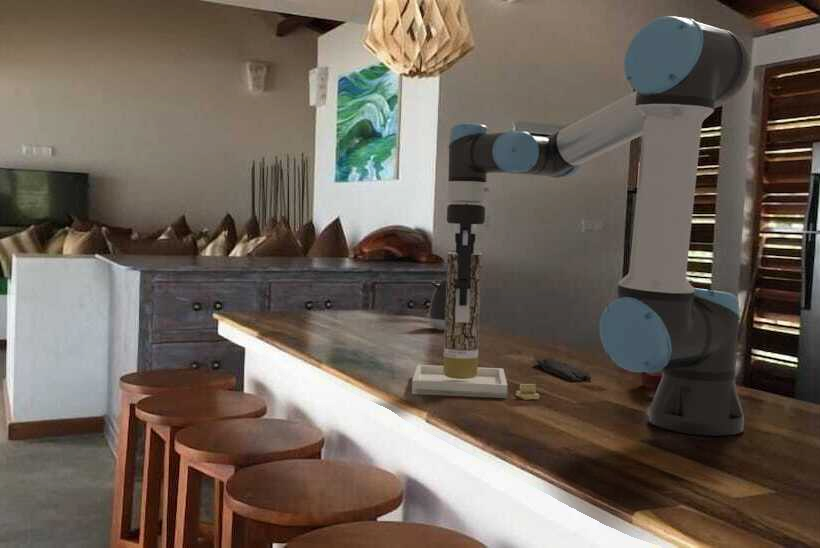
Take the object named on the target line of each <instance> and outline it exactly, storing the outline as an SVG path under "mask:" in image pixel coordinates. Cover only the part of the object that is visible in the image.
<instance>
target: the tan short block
mask: <svg viewBox="0 0 820 548" xmlns="http://www.w3.org/2000/svg"><path fill="white" fill-rule="evenodd" d="M536 390H537V384H536V383H520V384H519V390H515V396H516V397H518V398H520V399H522V400H528V401H529V400H531V399H532V400H533V399H534V400H540V394H539V393H537V391H536ZM532 400H531V401H532Z"/></svg>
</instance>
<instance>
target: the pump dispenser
mask: <svg viewBox="0 0 820 548" xmlns="http://www.w3.org/2000/svg"><path fill="white" fill-rule="evenodd" d="M430 286H432V287H434V288H435V289H434V292H433V293H432V296H431V300H430V305H429V310H428V318H429V322H430V324H431V326H432V327H433V328H434V329H435V330H437V331H443V332H445V307H446V278H445V279H443V280H440V281H439V282H438V283H436V282H434V281H431V282H430Z"/></svg>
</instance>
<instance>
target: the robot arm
mask: <svg viewBox="0 0 820 548" xmlns="http://www.w3.org/2000/svg"><path fill="white" fill-rule="evenodd" d="M750 58H751V57H750V54H749V51H748V48H747V46H746V45H745V43H744V42H743V41H742V39H741V38H739V36H737V35H736V34H735V33H734V32H731V31H730V30H726V29H723V28H720V27H715V26H712V25H708V24H705V23H702V22H700V21H695V20H694V19H692V18H689V17H679V16H672V15H671V16H670V15H667V16H661V17H657V18H654V19H652V20H650V21H649V22H647V23H646V24H645V25H643V26H642V27H641V29H640V30H639V31H638V32H636V33H635V35H634V36H633V37H632V39H631V40H630V42H629V44H628V46H627V48H626V50H625V53H624V60H623V70H624V71H623V73H624V76H625V78H626V80H627V81H628V82H629V86H630V87H632V89H634V90H635V91H633V92H632V93H629V94H628V95H626V96H624V97H621V98H620V99H618V100H617V101H616V100H615V101H614V102H612V103H610V104H609V105H607V106H605V107H602V108H601V109H599V110H596V111H595V112H593V113H591V114H589V115H587V116H585V117H584V118H581V119H580V120H578V121H576V122H574V123H572V124H570V125H568V126H566V127H564V128H562V129H561V130H559V131H557V132H555V133H553V134H550V135H548V136H541V135H532V134H531V133H530V132H527V131H525V130H524V131H521V130H520V131H519V130H508V131H503V132H494V133H493V132H492V133H489V128H488V126H486V125H484V124H480V123H457V124H454V125H453V126H451V128H450V132H449V133H450V134H449V141H448V142H449V143H448V174H447V175H448V177H447V178H448V181H447V191H446V192H447V194H446V199H447V202H450V203H449V204H448V205H447V206H446V222H447V223H448V224H454V225H455V224H456V225H459V232H455V233H454V234H455V235H454V241H455V251H456V253H457V254H458V279H457V285H454V284H453V288H455V289H456V313H455V322H465V323H469V312H470V287H471V282H470V270H471V254H473V252H474V251H475V249H474V247H475V246H474V245H475V243H476V233H472V225H484V224H485V223H486V207H485V205H483V204H485V203H486V196H487V195H486V193H489V192H490V188H489V187H486V185H487V175H488V174H515V175H517V174H518V175H527V176H528V175H529V176H539V177H540V176H541V177H549V178H552V179H553V178H556V179H557V178H558V179H559V178H567V177H571V176H573V175H574V174H576V172H577V171H578V170H579V169H580V167H581V165H582V164H584V163H585V162H588V161H590V160H592V159H594V158H596V157H599V156H601V155H603V154H605V153H607V152H609V151H612V150H613V149H616V148H618V147H621V146H623V145H624V144H627V143H629V142H631V141H632V140H635V139H637V138H640V137H641V136H642V137H641V146H640V147H641V148H640V156H639V168H638V179H637V189H636V200H635V209H634V219H633V228H632V229H633V231H632V232H633V233H632V243H631V250H630V261H629V262H630V263H629V271H628V274H627V275H625V276H624V277H623V278H622V279H620V280H619V281H618V282H617V283H618V284H617V294H616V299H615V300H613V301H612V302H610V303H609V304H608V306H607V307H606V308H604V309H603V310H602V311H603V312H602V314H601V316H600V320H599V330H598V331H599V338H600V341H601V345H602V346H603V349H604V351H605V352H606V354H608V355H609V357H610V359H611V361H613V363H615V364H616V365H617V366H618V367H620V368H622V369H624V370H626V371H629V372H630V373H631V372H632V373H641V372H646V373H652V372H658V371H660V370H663V372H662V379H661V381H660V384H659V386H658V389H657V391H655V394H654V397H653V399H652V402H651V405H650V407H649V414H648V415H649V417H648V419H649V420H648V421H649V423H650V424H652V425H654V426H656V427H658V428H661V429H665V430H668V431H672V432H676V433H682V434H689V435H695V436H696V435H697V436H711V437H712V436H713V437H714V436H717V437H718V436H719V437H720V436H732V435H733V436H735V435H737V434H741V433H743V431H744V426H745V425H744V424H745V423H744V422H745V415H744V413H743V412H744V411H743V409H742V404H741V401H740V396H739V393H738V390H737V387H736V369H737V368H736V367H737V353H738V341H739V340H738V338H739V337H738V335H739V325H740V324H739V323H740V318H741V316H740V302H739V298H738V297H737V296H736V295H735V294H734V293H731V292H725V291H720V290H714V289H713V290H712V289H711V290H710V289H706V288H705V289H704V288H696V287H693V285H692V284H691V283H690V282H689V281H688V279H687V271H688V261H689V250H690V241H691V231H692V223H693V215H694V213H693V211H694V204H695V203H694V201H695V194H696V192H695V191H696V184H697V173H698V166H699V165H698V164H699V155H700V147H701V146H700V145H701V144H700V143H701V134H702V127H703V126H702V125H703V122H704V121H705V120H706V119H707V118H708V117H709V116H710V115H712V114H713V113H714V112H715V109H716V108H718V107H720V106H723V105H724V104H725V103H727V102H729V101H730V100H732V99H734V97H735V96H737V95H738V94H739V93H740V92H741V91H742V90H743V88H744V86H745V85H746V83H747V80H748V78H749V75H750V70H751V59H750Z"/></svg>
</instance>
